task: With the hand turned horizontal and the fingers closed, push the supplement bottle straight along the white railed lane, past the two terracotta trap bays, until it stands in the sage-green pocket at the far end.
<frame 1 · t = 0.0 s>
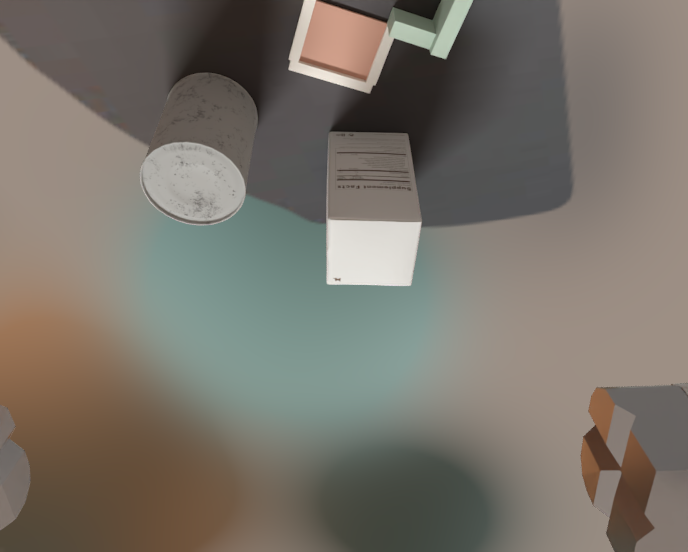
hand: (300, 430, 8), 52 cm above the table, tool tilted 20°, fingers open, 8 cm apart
speckled concrete cylinder: (212, 113, 63), on the table
supplement box: (366, 163, 68), on the table
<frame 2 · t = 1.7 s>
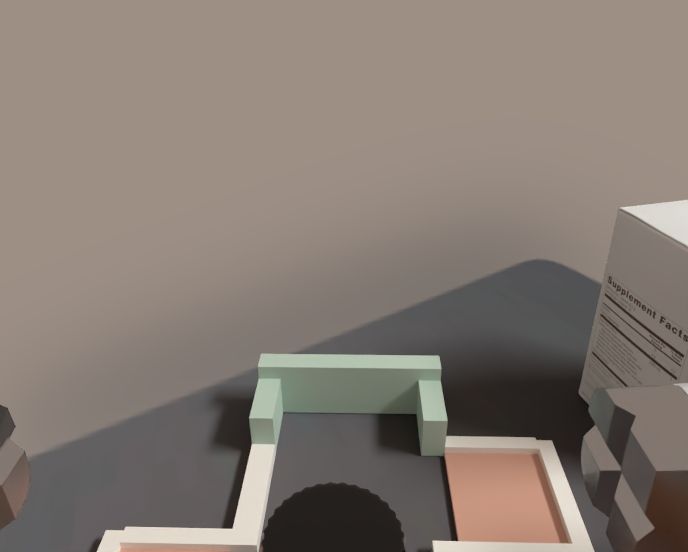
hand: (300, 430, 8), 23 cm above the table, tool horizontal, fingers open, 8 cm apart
supplement box: (667, 424, 42), on the table
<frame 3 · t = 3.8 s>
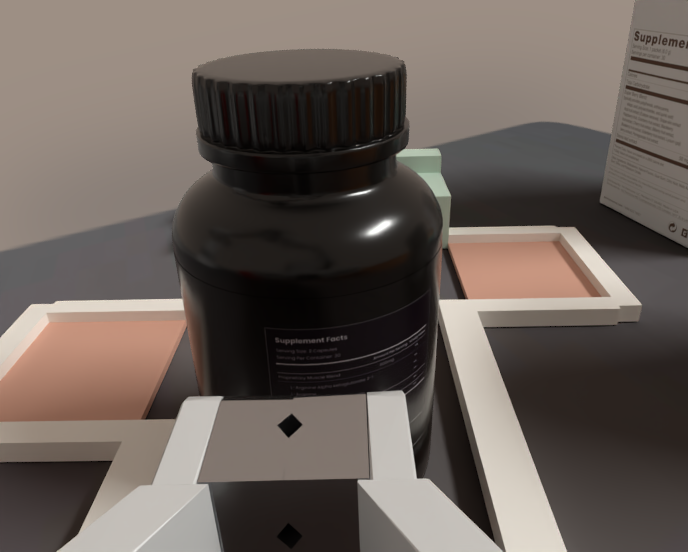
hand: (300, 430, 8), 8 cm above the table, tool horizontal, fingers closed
supplement bottle: (322, 462, 19), on the table
trap lane: (329, 323, 26), on the table
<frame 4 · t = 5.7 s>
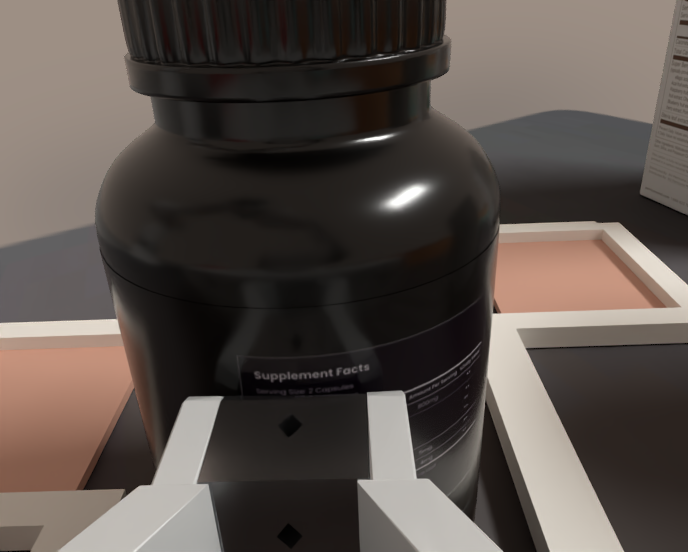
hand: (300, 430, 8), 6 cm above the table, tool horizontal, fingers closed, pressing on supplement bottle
supplement bottle: (326, 531, 14), on the table, touching gripper
trap lane: (329, 346, 21), on the table
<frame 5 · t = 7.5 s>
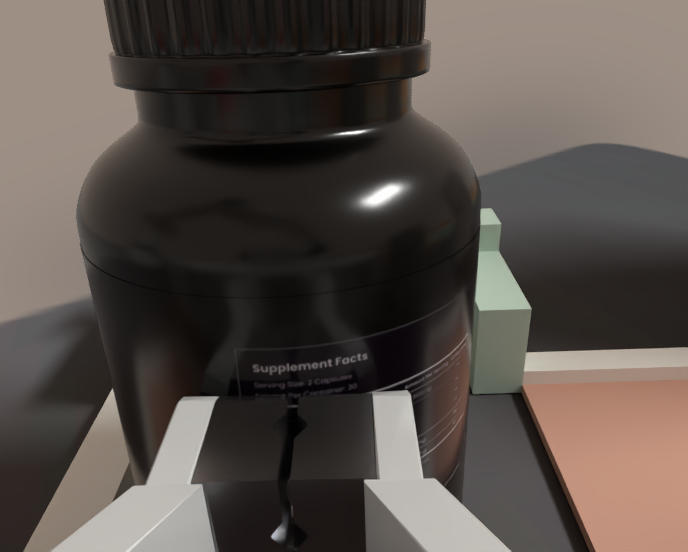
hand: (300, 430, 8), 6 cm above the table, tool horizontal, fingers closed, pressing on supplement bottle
supplement bottle: (309, 545, 14), on the table, touching gripper
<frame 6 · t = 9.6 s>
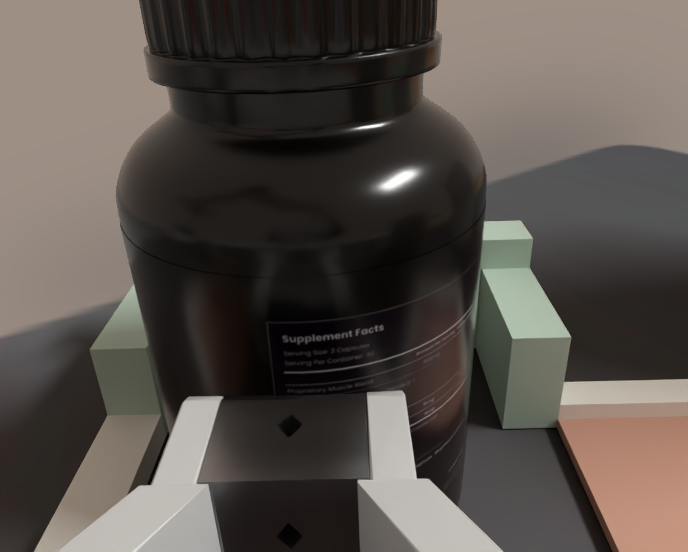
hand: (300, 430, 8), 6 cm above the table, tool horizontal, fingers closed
supplement bottle: (326, 491, 15), on the table
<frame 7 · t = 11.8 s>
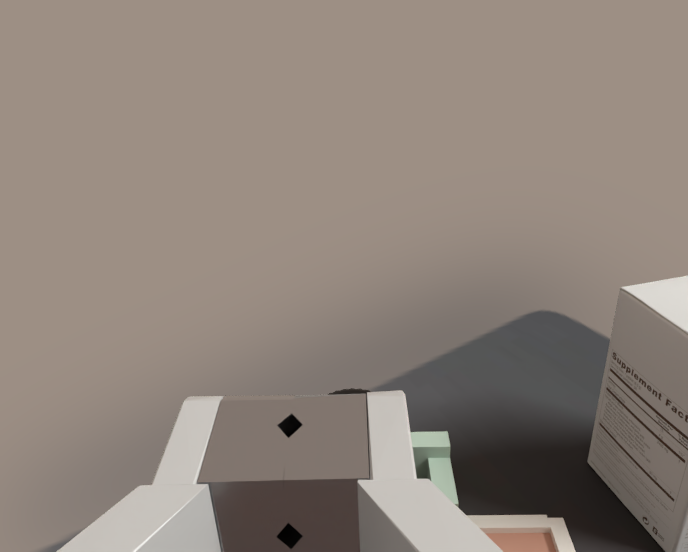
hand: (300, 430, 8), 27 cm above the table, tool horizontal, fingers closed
supplement box: (677, 493, 42), on the table
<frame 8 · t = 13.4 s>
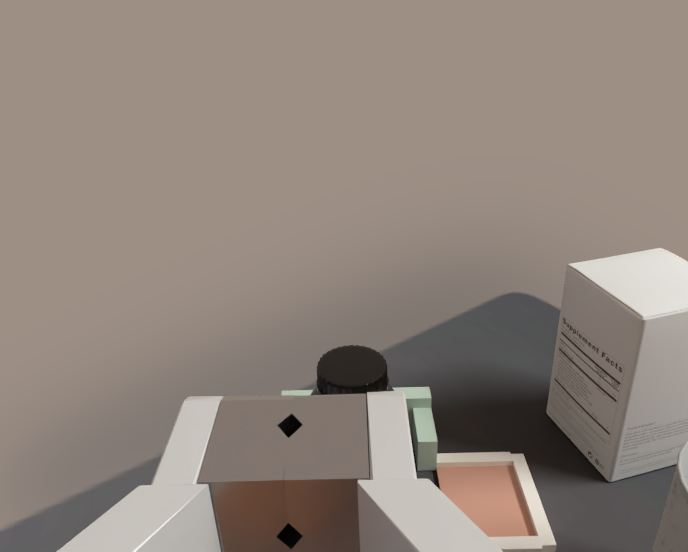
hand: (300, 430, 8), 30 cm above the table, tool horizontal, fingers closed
supplement box: (618, 435, 51), on the table
supplement bottle: (356, 493, 46), on the table
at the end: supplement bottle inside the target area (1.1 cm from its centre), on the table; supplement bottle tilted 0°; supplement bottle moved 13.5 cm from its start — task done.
